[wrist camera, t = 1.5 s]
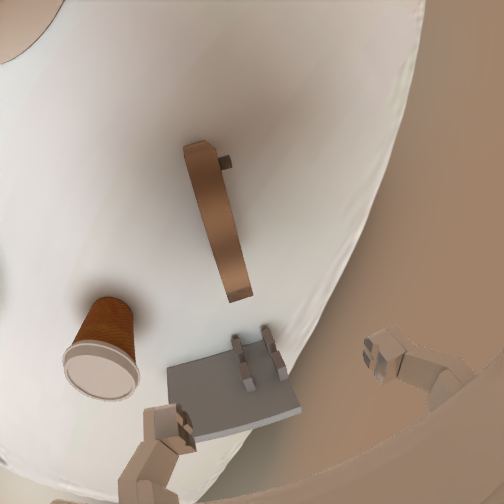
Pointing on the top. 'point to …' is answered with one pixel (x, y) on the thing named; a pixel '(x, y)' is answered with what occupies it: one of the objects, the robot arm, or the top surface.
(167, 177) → the top surface
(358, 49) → the top surface
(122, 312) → the disposable coffee cup
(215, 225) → the walnut door
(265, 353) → the cabinet side
